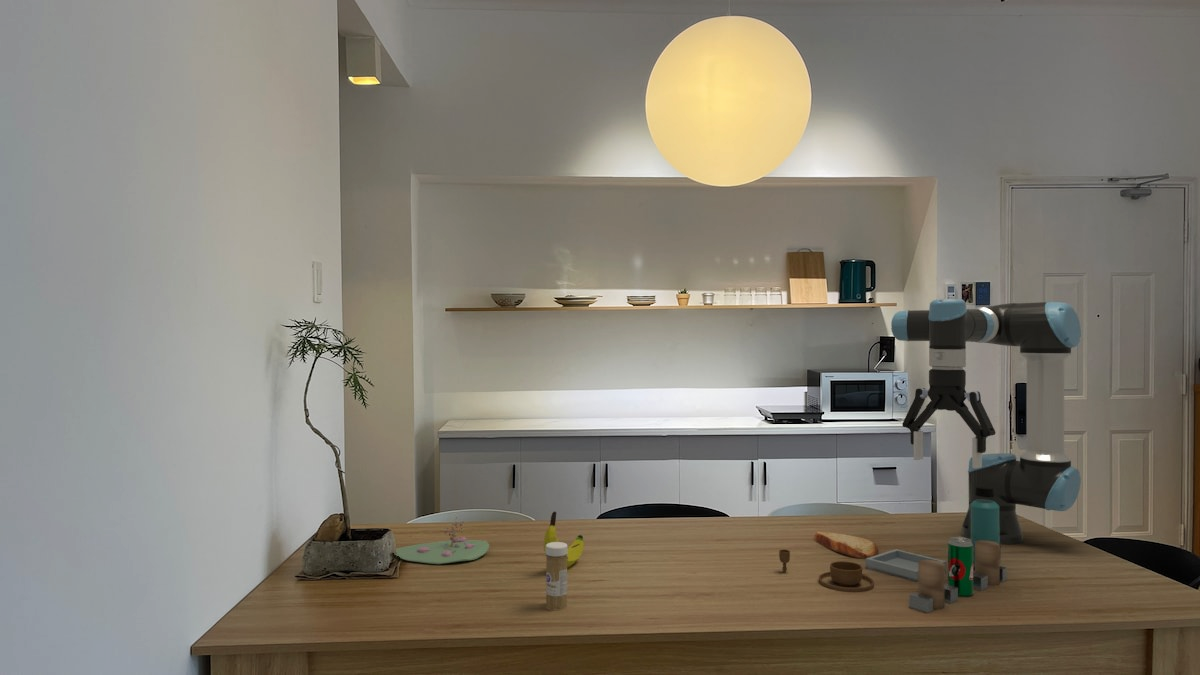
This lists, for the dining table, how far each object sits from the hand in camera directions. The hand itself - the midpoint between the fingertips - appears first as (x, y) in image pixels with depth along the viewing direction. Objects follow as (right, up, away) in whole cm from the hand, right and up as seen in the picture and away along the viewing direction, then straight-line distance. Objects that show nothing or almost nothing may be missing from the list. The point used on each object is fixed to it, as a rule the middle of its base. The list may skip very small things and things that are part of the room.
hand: (946, 463), depth 173 cm
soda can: (+1, -28, -5) cm, 28 cm away
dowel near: (-9, -28, -12) cm, 32 cm away
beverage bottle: (+15, -28, +12) cm, 33 cm away
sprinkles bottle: (-86, -28, -13) cm, 92 cm away
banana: (-86, -28, +14) cm, 91 cm away
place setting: (-24, -28, +5) cm, 38 cm away
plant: (-119, -29, +30) cm, 126 cm away
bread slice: (-13, -28, +31) cm, 44 cm away
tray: (-4, -28, +12) cm, 30 cm away
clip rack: (+1, -28, -5) cm, 28 cm away
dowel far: (+10, -28, +3) cm, 29 cm away
